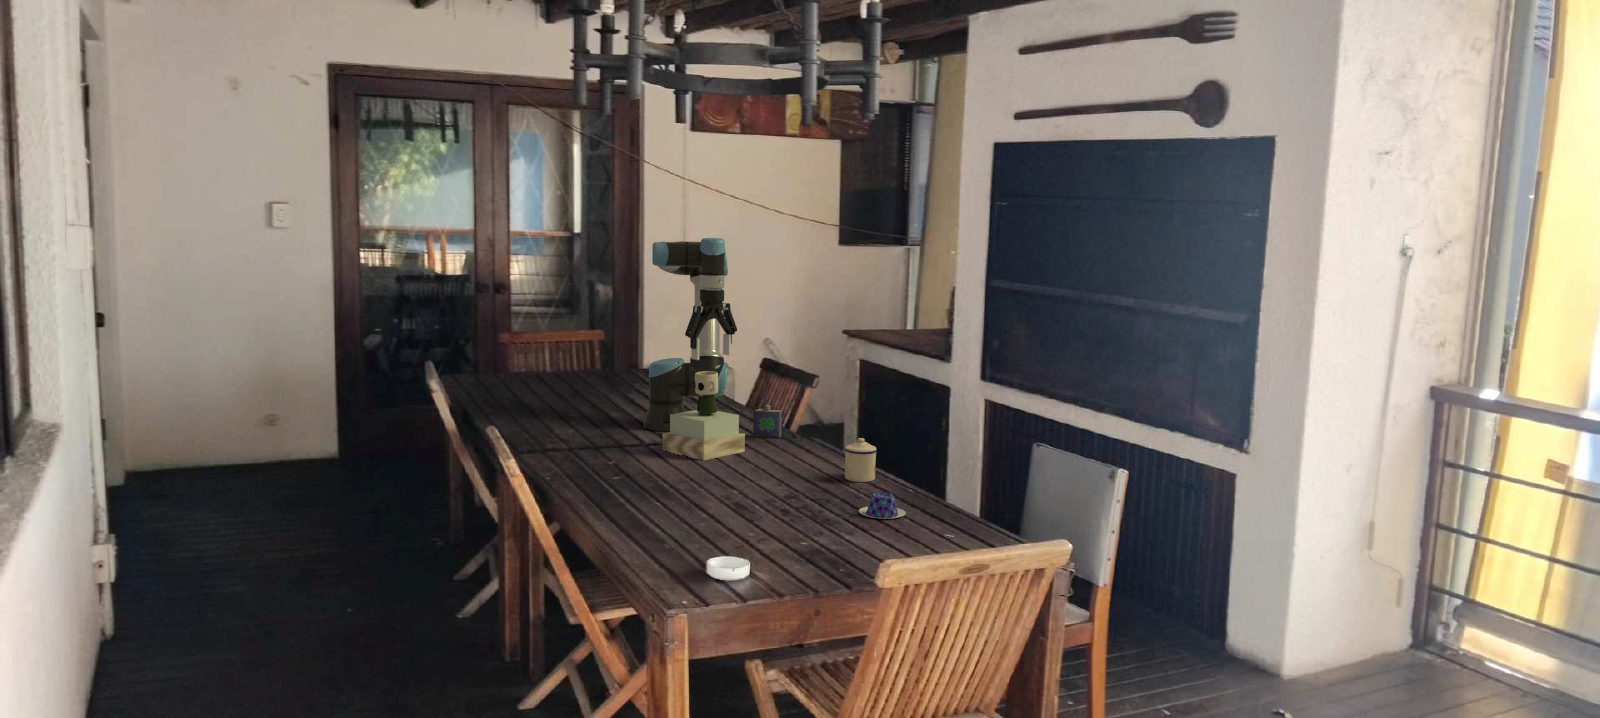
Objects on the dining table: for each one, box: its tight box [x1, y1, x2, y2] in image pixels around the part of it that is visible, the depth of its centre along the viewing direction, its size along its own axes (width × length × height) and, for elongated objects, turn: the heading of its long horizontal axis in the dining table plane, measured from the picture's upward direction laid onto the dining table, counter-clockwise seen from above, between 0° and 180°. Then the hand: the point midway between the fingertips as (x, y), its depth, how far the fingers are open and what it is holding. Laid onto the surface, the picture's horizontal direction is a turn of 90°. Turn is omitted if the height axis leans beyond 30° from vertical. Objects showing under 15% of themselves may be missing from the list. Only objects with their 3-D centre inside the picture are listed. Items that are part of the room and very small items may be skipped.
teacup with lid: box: [844, 437, 878, 483], centre depth 339 cm, size 12×9×12 cm
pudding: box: [858, 491, 907, 520], centre depth 302 cm, size 12×12×5 cm
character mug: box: [695, 371, 718, 415], centre depth 367 cm, size 11×7×13 cm, turn 31°
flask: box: [753, 404, 783, 439], centre depth 392 cm, size 9×3×11 cm, turn 87°
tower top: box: [669, 409, 740, 441], centre depth 368 cm, size 15×15×6 cm
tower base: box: [662, 431, 746, 461], centre depth 369 cm, size 18×18×6 cm
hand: (711, 357), depth 368 cm, fingers open, 13 cm apart
